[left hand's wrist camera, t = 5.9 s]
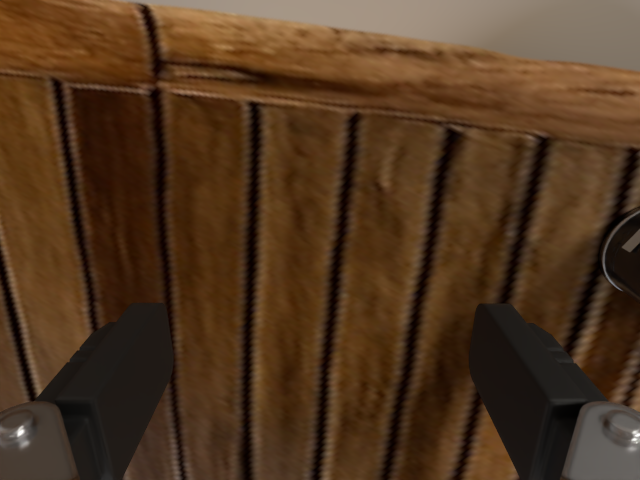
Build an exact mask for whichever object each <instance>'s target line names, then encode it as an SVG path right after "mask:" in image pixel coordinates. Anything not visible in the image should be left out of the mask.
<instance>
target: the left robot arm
mask: <svg viewBox="0 0 640 480" xmlns="http://www.w3.org/2000/svg"><path fill="white" fill-rule="evenodd" d="M599 263H600V268H601V271H602V273H603V275H604V277H605V278H606V279H607V280H608V281H609V282H610V283H611V284H612V285H614V286H615V287H616V288H618V289H619V290H621V291H623V292H625V293H626V294H628V295H629V296H630V297H632V298H633V299H634V300H635V301H637V302H638V303H639V304H640V207H639V208H636V209H634V210H632V211H631V212H629V213H627V214H626V215H625V216H623V217H622V218H621V219H619V220H618V221H617V222H616V223H615V224H614V225H613V227H612V228H611V229H610V230H609V232H608V233H607V235H606V236H605V238H604V240H603V243H602V245H601V249H600V254H599ZM469 368H470V374H471V377H472V380H473V382H474V384H475V386H476V388H477V390H478V392H479V394H480V396H481V398H482V401H483V403H484V405H485V407H486V409H487V411H488V413H489V415H490V417H491V419H492V421H493V423H494V425H495V427H496V429H497V431H498V433H499V436H500V438H501V440H502V442H503V444H504V446H505V448H506V450H507V452H508V454H509V456H510V458H511V460H512V462H513V464H514V466H515V469H516V471H517V473H518V475H519V477H520V479H521V480H640V412H638V411H636V410H634V409H632V408H629V407H627V406H624V405H621V404H617V403H613V402H609V401H608V400H607V399H606V398H605V397H604V395H603V394H602V393H601V392H600V391H599V390H598V389H597V387H596V386H595V385H594V384H593V383H592V382H591V380H590V379H589V378H588V377H587V376H586V375H585V373H584V372H583V371H582V370H581V369H580V368H579V366H578V365H577V364H576V363H573V359H572V358H571V357H570V356H569V355H568V354H567V352H564V351H563V348H562V347H561V345H560V344H559V343H558V342H557V341H556V340H555V339H554V337H553V336H552V335H551V334H549V333H548V332H546V331H544V330H543V329H541V328H540V327H538V326H537V325H535V324H534V323H526V322H525V321H524V319H523V318H522V317H521V316H520V314H519V313H518V312H517V311H516V309H515V308H514V307H513V306H512V305H511V304H479V305H478V306H477V308H476V312H475V319H474V325H473V332H472V338H471V345H470V352H469ZM172 369H173V349H172V342H171V336H170V329H169V322H168V316H167V310H166V307H165V305H164V304H163V303H132V304H131V305H130V306H129V307H128V308H127V309H126V311H125V312H124V313H123V314H122V316H121V317H120V318H119V319H118V321H117V322H109V323H108V324H106V325H105V326H103V327H102V328H100V329H99V330H97V331H95V332H94V333H92V334H91V335H90V336H89V337H88V339H87V340H86V341H85V342H84V343H83V344H82V346H81V347H80V350H79V351H77V352H76V353H75V354H74V355H73V356H72V357H71V359H70V362H67V363H66V364H65V366H64V367H63V368H62V369H61V370H60V371H59V373H58V374H57V375H56V376H55V377H54V379H53V380H52V381H51V382H50V383H49V384H48V386H47V387H46V388H45V389H44V390H43V391H42V393H41V394H40V395H39V396H38V397H37V398H36V400H35V401H34V402H27V403H23V404H19V405H16V406H13V407H11V408H8V409H6V410H4V411H2V412H0V480H122V478H123V476H124V473H125V471H126V469H127V467H128V465H129V463H130V461H131V459H132V457H133V455H134V453H135V451H136V448H137V446H138V444H139V442H140V440H141V438H142V436H143V434H144V432H145V430H146V428H147V425H148V423H149V421H150V419H151V417H152V415H153V413H154V411H155V409H156V407H157V405H158V403H159V400H160V398H161V396H162V394H163V392H164V390H165V388H166V386H167V384H168V382H169V380H170V377H171V374H172Z"/></svg>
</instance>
